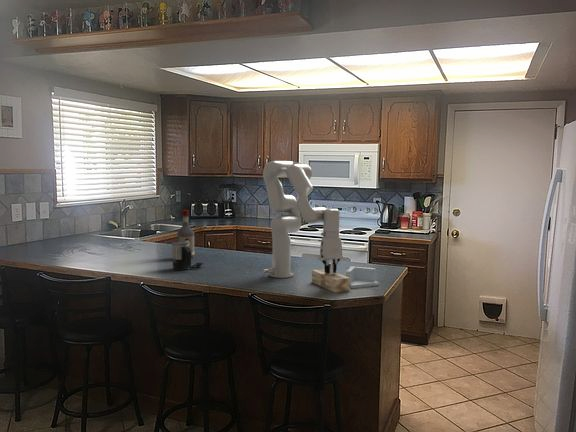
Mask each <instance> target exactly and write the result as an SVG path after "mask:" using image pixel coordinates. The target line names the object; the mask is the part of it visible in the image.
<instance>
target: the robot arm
mask: <svg viewBox="0 0 576 432" xmlns="http://www.w3.org/2000/svg"><path fill="white" fill-rule="evenodd" d="M312 176H313V171H312V168H311V167H310V165H308V164H307V163H301V162H298V161H291V160H272V161H269V162H267V163H266V164H265V165H264V167H263V170H262V177H263V181H264V183H265V188H266V192H267V196H268V203H269V208H270V210H271V212H272V213H274V214H281V215H276V216H275V217H273V218H272V220H271V221H270V230H271V236H272V237H271V238H272V266H270V268H264V269H263V273H264V274H266V273H267V274H269V276H270V277H272V278H276V279H277V278H278V279H279V278H281V279H285V278H292V277H293V276H294V272H292V271H291V267H292V264H291V263H292V262H291V261H292V259H291V257H292V253H291V251H292V250H291V247H292V243H291V238H290V236H289V234H291V233H292V234H293V233H296V232H298V231H299V230H300V229H301V228H302V219H303V220H304V221H305V222H306V223H308V224H309V225H310V224H311V225H313V224H320V223H321V224H323V226H322V229H323V231H322V232H321V233H320V235H321V236H322V237H321V242H320V245H319V246H320V248H319V256H318V261H319V262H322V264H323V265H324V268H323V269H324V271H325V273H327V274H329V267H330V266H329V265H328V264H329V263H330V260H332V263H333V264H334V273H337V265H338V264H339V262H340V261H342V260H343V258H344V257H343V243H342V239H341V237H340V210H339V209H338V208H328V207H325V206H321V207H319V206H317V207H312V205H311V204H310V202H309V198H308V197H309V195H310V194H311V193H312V192H313V189H314V187H313V185H312V183H311V181H310V179H311V178H312ZM279 178H288V180H289V182H290V184H291V186H292V187H293V189H294V191H295V193H296V195H297V197H295V196H294V195H292V194H285V191H284V187H283V184H282V182H281V181H280V179H279ZM283 214H284V215H283ZM301 217H302V218H301Z"/></svg>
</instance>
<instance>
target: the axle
mask: <svg viewBox="0 0 576 432" xmlns="http://www.w3.org/2000/svg"><path fill="white" fill-rule="evenodd" d="M328 265H329V266H330V267H329V274H327V275H334V264H333V262H329V264H328Z"/></svg>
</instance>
